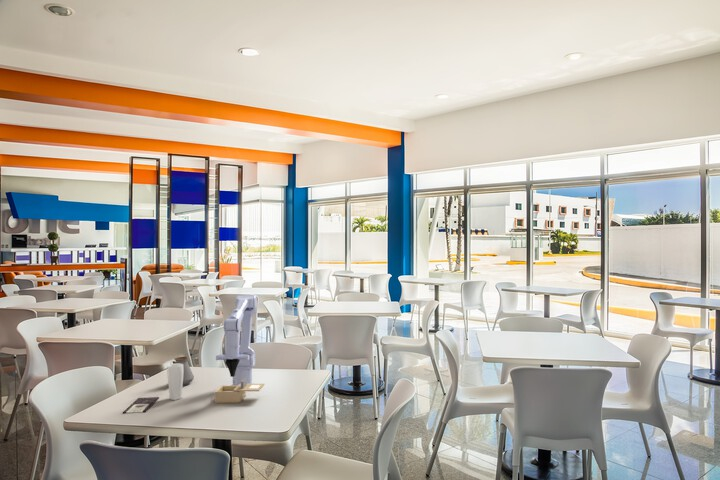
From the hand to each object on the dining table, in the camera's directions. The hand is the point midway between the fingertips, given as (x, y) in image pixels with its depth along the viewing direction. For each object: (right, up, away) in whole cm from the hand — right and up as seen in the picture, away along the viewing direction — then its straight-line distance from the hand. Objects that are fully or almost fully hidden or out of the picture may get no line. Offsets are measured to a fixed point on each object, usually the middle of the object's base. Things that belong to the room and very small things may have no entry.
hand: (232, 376), depth 209 cm
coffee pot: (-31, -11, +20) cm, 39 cm away
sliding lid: (+7, -5, 0) cm, 9 cm away
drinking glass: (-26, -11, +2) cm, 29 cm away
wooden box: (-1, -10, 0) cm, 10 cm away
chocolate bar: (-38, -11, -6) cm, 40 cm away
